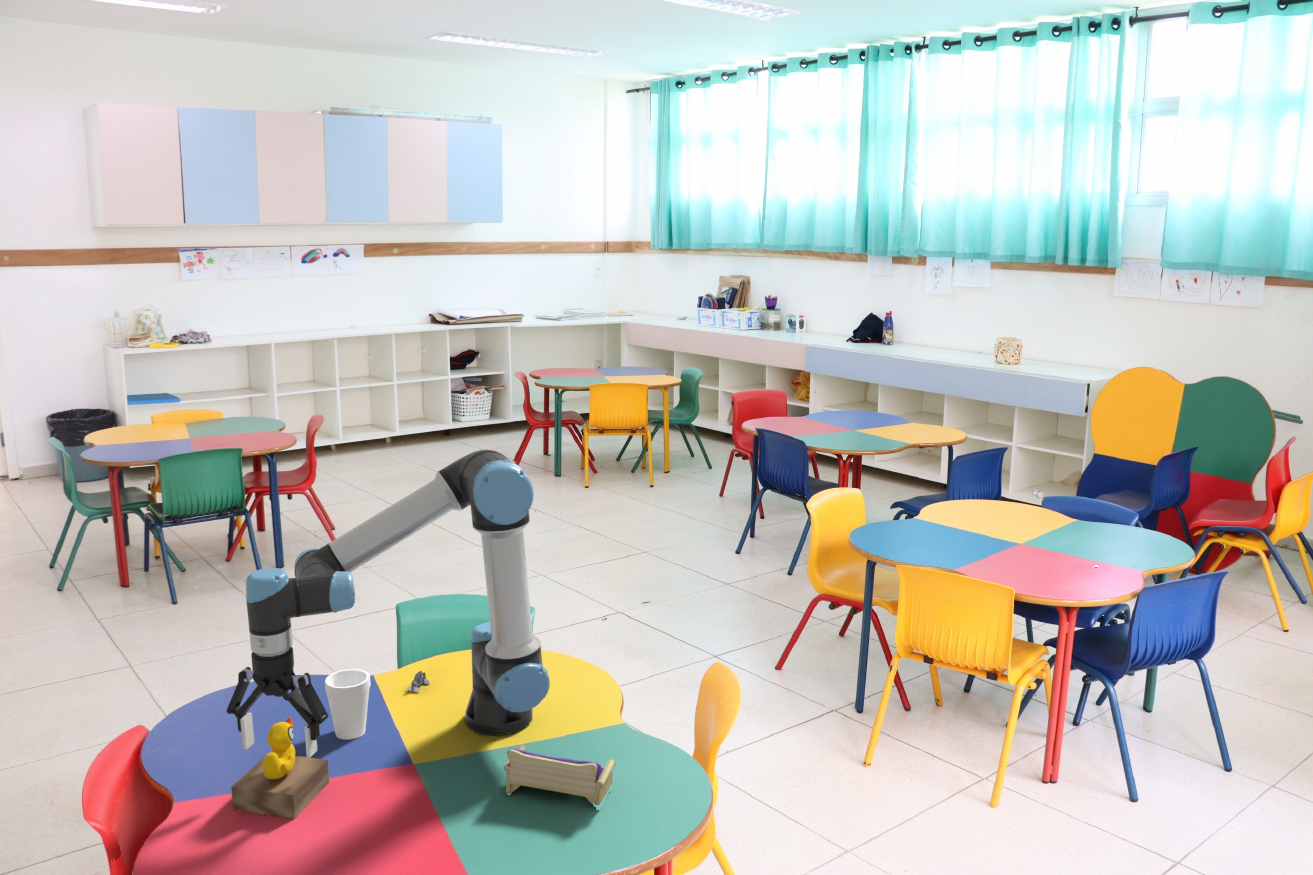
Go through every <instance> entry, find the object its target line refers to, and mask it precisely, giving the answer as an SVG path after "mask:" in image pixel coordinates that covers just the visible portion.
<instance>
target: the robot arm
mask: <svg viewBox="0 0 1313 875" xmlns="http://www.w3.org/2000/svg"><path fill="white" fill-rule="evenodd" d="M534 493H535V492H534V487H533V483H532V481H531V478H529V476H528V474H527V473H526V472H525V470H524V469H523V468H521V467H520V465H518V464H517V463H514V462H513V461H511V460H510V459H508V458H507V457H506V455H505V454H503V453H501V452H499V451H496V450H492V449H480V450H476V451H472V452H470V453H469V454H466V455H464V456H462V457H460V458H458V459H457V460H455V461H453V462H452V463H450V464H448V465H447V466H445V467H444V468H442V469H440V470H438V471H437V472H436V473H435V477H434V479H433V480H431V481H430V482H428V483H426V484H424V485H423V486H421V487H419V488H418V489H416V490H415V491H413V492H411V493H409V494H408V495H406V496H405V497H403V498H401V499H400V500H398V501H397V502H395V503H393V504H392V505H390V506H388V507H387V508H385V509H383V510H381V511H380V512H378V513H377V514H375V515H373V516H372V517H370V518H369V519H367V520H365V521H363V522H361V524H359V525H356V526H355V527H354V528H352V529H350V530H347V532H345V533H344V534H342V535H341V536H338V537H337V538H335V539H333V540H331V541H330V542H329V543H327V544H325V545H323V546H321V547H320V548H317V547H312V548H308V549H305V550H304V551H302V552H301V553H299V555H298V556H297V557H296V559H295V562H294V566H293V567H294V576H295V577H292V578H291V577H289V576H288V573H287V571H286V570H285V569H282V568H280V567H279V568H278V567H276V568H272V567H267V568H261V569H257V570H255V571H253V572H251V573H250V574H249V575H248V576H247V578H246V580H245V600H246V601H245V602H246V609H247V610H246V612H247V620H248V632H249V644H250V650H251V655H250V656H251V667H250V666H246V667H245V668H244V669H241V671H240V672H238V676H237V677H238V680H237V684H236V686H235V688H234V692H233V693H232V696H231V699H230V701H229V703H228V706H227V708H226V714H228V715H234V716H235V718H236V722H237V731H238V732H240V733H241V740H242V750H245V751H247V750H248V749H249V748H251V746H253V745H254V744H255V733H254V724H253V723H254V721H253V713H252V712H248V711H250V709H251V708H252V707H253V706H254V704H255V703H256V702H257V700H259V698H260V697H261V696H262V695H263V694H264V695H265V696H268V697H270V696H273V697H277V698H278V697H279V698H281V697H282V698H283V699H284V700H285V701H287V702H289V703H290V705H291V706H292V707H293V708H294V710H296V712H297V713H298V714H299V715H300V716H301V718H302V719H303V720H304V721H305V723H306V724H305V725H304V726H303V727H304V739H305V740H304V741H305V750H306V751H305V752H306V757H308V758H312V756H313V755H315V753H316V752H318V741H317V740H318V739H319V738H320V735H321V731H320V725H321V724H322V723H324V722H325V721H326V720H327V719H328V717H329V713H328V712H327V710H326V708H325V706H324V704H323V703H322V700H321V699H320V697H319V695H318V693H317V691H316V690H315V688H314V686H313V684H312V680H311V674H310V673H309V672H304V673H303V674H299V675H298V674H296V673H295V671H294V665H295V657H294V648H293V647H292V646H293V644H294V643H293V632H292V631H293V630H292V622H291V621H292V620H291V619H293V618H294V619H295V618H300V617H308V616H315V615H316V616H317V615H323V614H329V613H335V614H336V613H338V612H341V611H342V612H343V611H345V610H350V609H352V608H354V606H355V603H356V590H355V589H356V588H355V583H354V578H353V577H354V576H353V575H352V572H353V571H355V570H357V569H358V568H360V567H361V566H364V564H365V565H366V563H368V562H370V561H371V560H373V559H375V558H376V557H378V556H380V555H381V554H383V553H385V552H386V551H388V550H389V549H391V548H393V547H395V546H396V545H398V544H399V543H401V542H402V541H405V540H406V539H407V538H409V537H411V536H412V535H414V534H415V533H417V532H419V531H421V530H422V529H424V528H425V527H427V526H429V525H430V524H432V523H434V522H435V521H437V520H439V519H441V518H442V517H443V516H446V515H447V514H449V513H450V512H452V511H458V512H460V511H463V510H464V509H466V508H468V507H470V511H471V513H470V514H471V520H472V521H471V522H472V528H473V530H475V531H476V532H478V533H479V534H480V536H481V544H482V545H481V546H482V556H483V566H484V567H483V568H484V575H485V576H484V577H485V586H486V596H487V606H488V616H489V621H486V622H482V623H480V624H478V625H476V626H475V627H473V629H472V630H471V636H470V637H471V640H470V644H471V674H472V677H471V679H472V680H471V681H472V690H471V693H470V696H469V699H468V701H467V702H468V703H467V707H466V709H465V713H464V714H465V715H464V716H465V725H466V727H468V728H469V729H470V730H471V731H473V732H475V733H477V734H481V735H486V736H504V735H508V734H509V735H510V734H514V733H517V732H519V731H522V730H524V729H526V728H527V727H528V726H530V724H531V723H532V721H533V709H534V708H536V707H537V706H539V705H540V704H541V702H542V701H543V700H544V699H545V698H546V696H547V695H548V692H549V689H550V686H551V680H550V676H549V674H548V673H549V672H548V670H547V669H546V668H545V666H544V665H543V657H542V645H541V640H540V638H539V637H537V636H536V635H535V634H533V625H532V615H531V603H530V593H529V582H528V581H529V580H528V570H527V568H528V567H527V561H526V560H527V557H526V548H525V538H524V529H525V528H526V527H527V526H528V525H529V524H530V520H531V519H530V510H531V507H532V505H533V502H534ZM251 680H253V681H254V683H255V684H256V687H255V688H254V689H253V690H252V692H251V694H250V695H249V696H248V697H247V699H246V700H245V701H244V702H243V699H244V697H245V695H246V692H247V689H248V687H249V684H250V682H251ZM289 691H291V692H289ZM242 702H243V703H242ZM241 703H242V705H241ZM530 722H531V723H530ZM529 723H530V724H529ZM523 728H524V729H523Z"/></svg>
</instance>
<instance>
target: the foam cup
mask: <svg viewBox="0 0 1313 875" xmlns="http://www.w3.org/2000/svg"><path fill="white" fill-rule="evenodd" d="M324 688H325V689H324V691H325V694H326V696H327V699H328V700H327V701H328V705H329V709H330V710H329V711H330V714H331V715H330V716H331V719H332V726H333V729H334V733H335V736H336V737H337V738H338V739H340V740H347V741H350V740H354V739H355V740H356V739H358V738H360V737H362V736H363V735H365V733H366V728H367V718H368V708H369V707H368V706H369V694H370V688H371V674H370V673H369V672H368V671H367V670H363V669H360V668H348V669H342V670H341V669H340V670H337V671H334V672H332V673H331V674H329V675H328V676H326V678H325V681H324Z"/></svg>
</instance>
